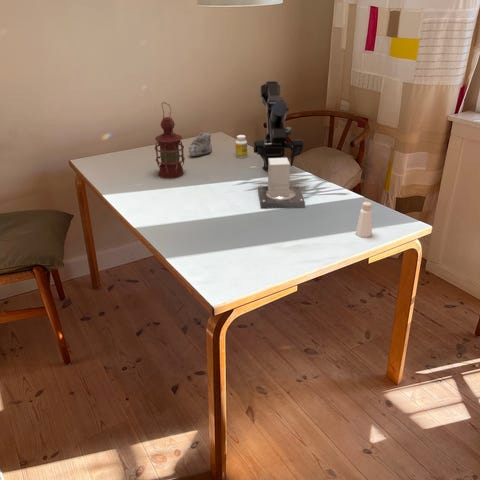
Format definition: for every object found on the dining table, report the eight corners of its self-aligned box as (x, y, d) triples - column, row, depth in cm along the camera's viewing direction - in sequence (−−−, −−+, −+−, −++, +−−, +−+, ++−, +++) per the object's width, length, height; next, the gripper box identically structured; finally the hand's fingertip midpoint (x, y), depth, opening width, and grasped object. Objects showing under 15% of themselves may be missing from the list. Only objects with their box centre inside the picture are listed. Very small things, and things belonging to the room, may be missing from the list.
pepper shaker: (360, 228, 174) (363, 198, 169) (375, 233, 171) (378, 202, 166) (352, 234, 171) (355, 203, 165) (367, 239, 168) (370, 208, 162)
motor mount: (257, 191, 204) (257, 185, 202) (298, 190, 204) (299, 184, 203) (260, 208, 189) (260, 201, 188) (304, 207, 190) (305, 200, 189)
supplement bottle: (240, 153, 244) (239, 133, 240) (249, 155, 241) (249, 135, 237) (233, 156, 240) (233, 136, 236) (242, 159, 238) (242, 138, 233)
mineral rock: (190, 159, 238) (188, 137, 234) (183, 152, 247) (182, 131, 243) (216, 155, 243) (216, 134, 238) (209, 148, 251) (208, 128, 247)
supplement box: (286, 188, 200) (287, 157, 194) (289, 196, 193) (290, 163, 187) (267, 189, 199) (268, 157, 194) (269, 196, 193) (269, 164, 187)
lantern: (190, 175, 220) (186, 103, 206) (165, 181, 214) (159, 108, 200) (177, 167, 229) (172, 97, 215) (151, 172, 223) (145, 102, 209)
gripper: (254, 119, 194) (255, 157, 189) (304, 118, 194) (307, 156, 190) (252, 133, 205) (254, 170, 200) (300, 132, 205) (302, 169, 201)
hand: (279, 166), depth 197 cm, fingers open, 9 cm apart
